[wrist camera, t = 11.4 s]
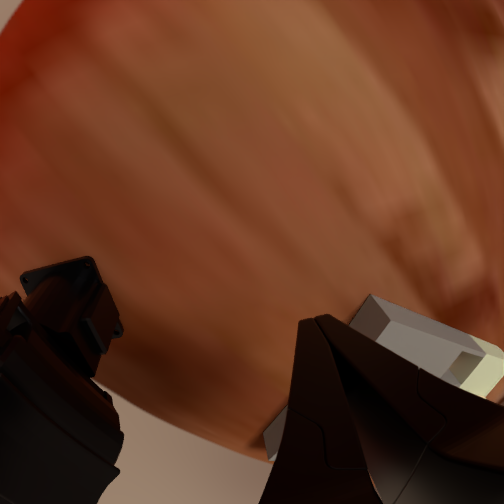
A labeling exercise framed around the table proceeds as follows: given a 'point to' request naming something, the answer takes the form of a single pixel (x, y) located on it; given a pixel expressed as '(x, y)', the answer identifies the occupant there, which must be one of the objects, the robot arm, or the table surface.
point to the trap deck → (419, 353)
